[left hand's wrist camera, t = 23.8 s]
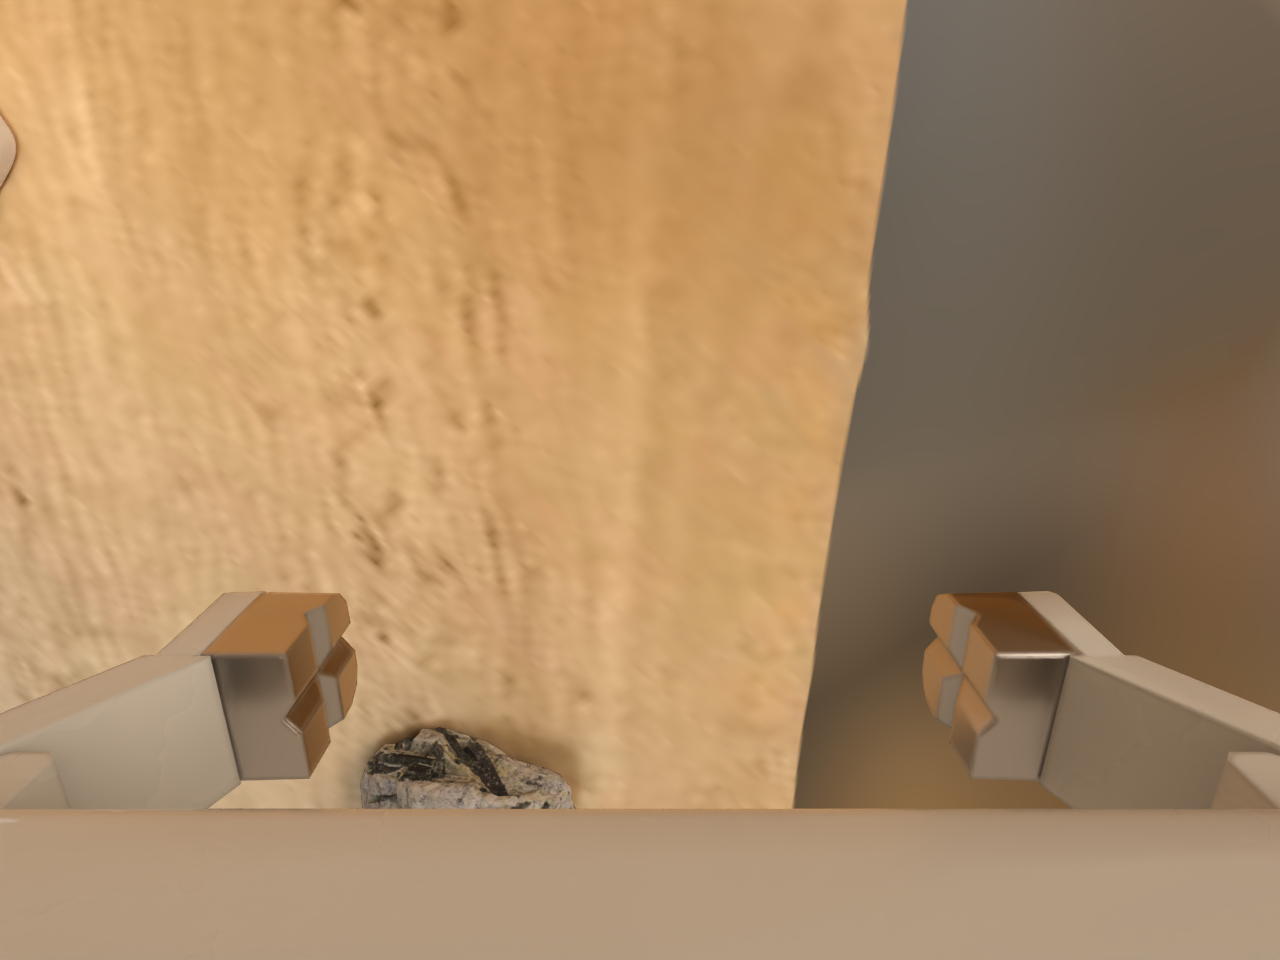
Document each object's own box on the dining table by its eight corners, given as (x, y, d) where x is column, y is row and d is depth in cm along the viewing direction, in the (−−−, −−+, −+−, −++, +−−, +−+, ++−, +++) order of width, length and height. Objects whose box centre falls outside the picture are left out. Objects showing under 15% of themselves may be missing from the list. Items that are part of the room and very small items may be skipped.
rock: (369, 829, 54) (335, 917, 47) (368, 716, 50) (331, 795, 43) (571, 843, 55) (564, 932, 48) (584, 733, 51) (579, 813, 44)
